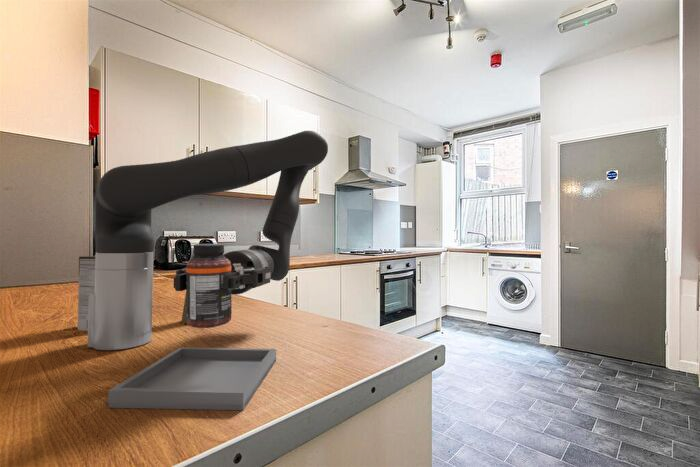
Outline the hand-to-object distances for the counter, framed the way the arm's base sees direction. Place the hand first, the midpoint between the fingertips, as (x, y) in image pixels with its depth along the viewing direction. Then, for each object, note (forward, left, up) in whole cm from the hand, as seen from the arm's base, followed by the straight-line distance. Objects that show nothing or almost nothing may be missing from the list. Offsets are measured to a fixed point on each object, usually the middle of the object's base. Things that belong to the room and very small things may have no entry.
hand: (201, 283), depth 45 cm
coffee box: (-35, +30, -14) cm, 49 cm away
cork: (-18, +36, -14) cm, 43 cm away
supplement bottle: (0, +3, -6) cm, 7 cm away
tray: (0, +2, -14) cm, 14 cm away
